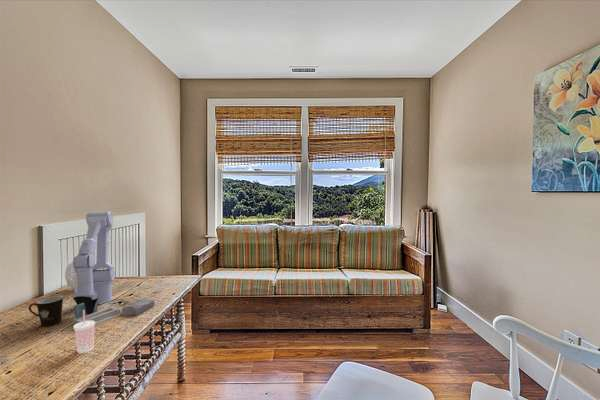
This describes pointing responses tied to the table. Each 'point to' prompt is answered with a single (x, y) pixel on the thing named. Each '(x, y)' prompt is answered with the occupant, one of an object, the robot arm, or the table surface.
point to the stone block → (138, 307)
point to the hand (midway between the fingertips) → (86, 312)
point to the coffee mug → (49, 310)
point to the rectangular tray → (100, 315)
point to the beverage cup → (84, 335)
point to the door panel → (80, 308)
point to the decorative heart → (71, 276)
